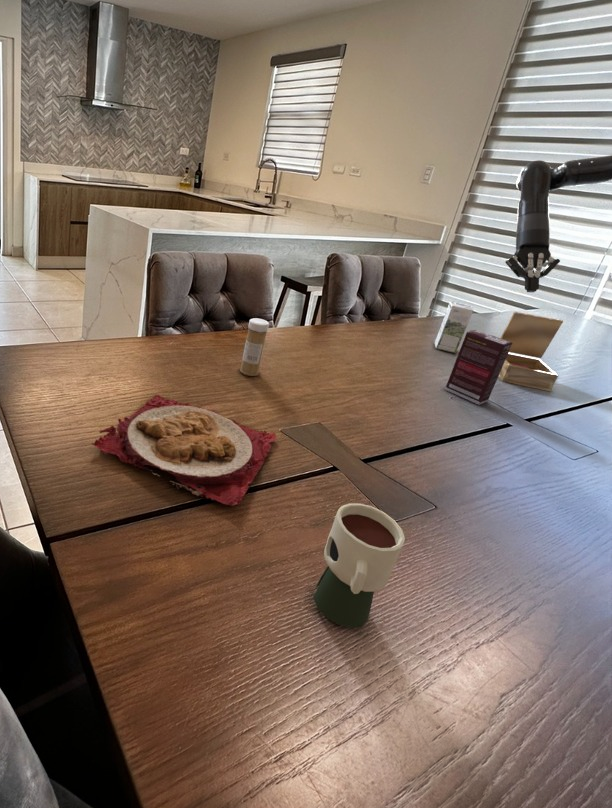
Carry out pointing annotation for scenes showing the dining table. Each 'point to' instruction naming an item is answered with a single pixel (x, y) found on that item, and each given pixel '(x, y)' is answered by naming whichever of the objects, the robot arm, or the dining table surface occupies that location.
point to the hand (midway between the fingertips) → (531, 291)
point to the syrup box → (453, 327)
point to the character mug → (357, 563)
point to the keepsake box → (527, 372)
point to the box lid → (530, 333)
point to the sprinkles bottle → (254, 346)
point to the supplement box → (478, 366)
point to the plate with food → (191, 448)
